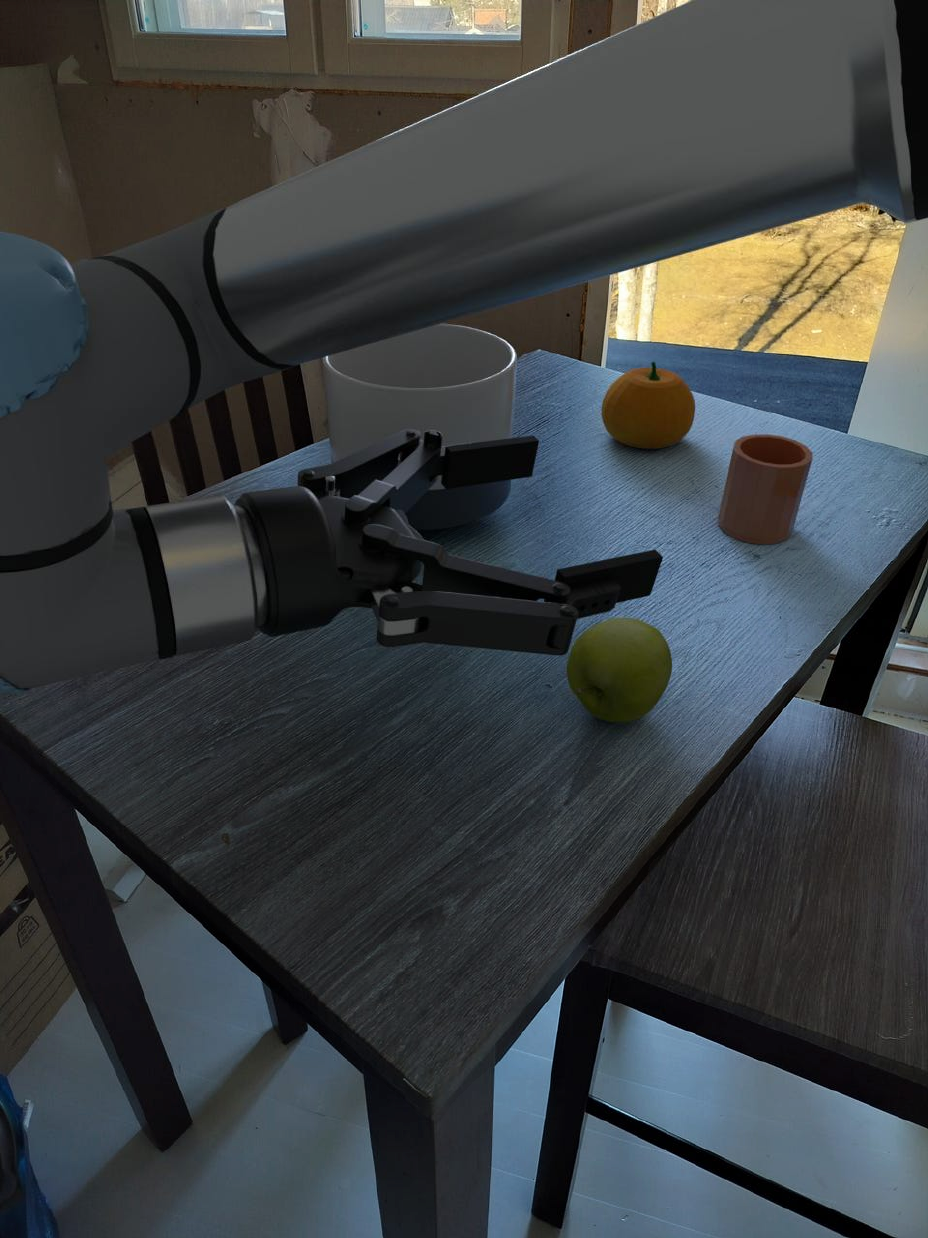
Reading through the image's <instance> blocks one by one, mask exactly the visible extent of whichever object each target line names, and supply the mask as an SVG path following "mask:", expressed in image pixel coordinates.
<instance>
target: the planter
mask: <svg viewBox="0 0 928 1238" xmlns="http://www.w3.org/2000/svg"><path fill="white" fill-rule="evenodd" d="M321 362H322V373H323V384H324V395H325V396H324V397H325V407H326V417H327V418H326V419H327V428H328V439H329V450H330V451H329V452H330V464H332V463H334V462H336V461H338V460H340V459H343V458H345V457H347V456H349V455H351V454H353V453H356V452H358V451H360V450H362V449H364V448H366V447H369V446H371V445H373V444H375V443H377V442H379V441H381V440H384V439H386V438H388V437H390V436H392V435H394V434H397V433H399V432H401V431H403V430H406V429H414V430H417V431H418V432H420V440H421V441H423V442H424V434H425V431H428V430H435V431H438V432H440V433H442V435H443V439H442V446H449V445H457V444H459V445H460V444H466V443H476V442H484V441H492V440H501V439H509V438H514V429H515V426H514V425H515V408H516V390H517V389H516V388H517V369H518V368H517V367H518V355H517V352H516V350H515V348H514V347H513V346H512V345H511V344H510V343H509V342H508V341H506V340H505V339H503V338H502V337H499V336H497V335H496V334H494V333H490V332H488V331H485V330H481V329H477V328H473V327H469V326H465V325H457V324H448V323H441V324H438V325H434V326H431V327H427V328H424V329H420V330H417V331H413V332H410V333H406V334H403V335H399V336H396V337H392V338H389V339H385V340H382V341H378V342H375V343H371V344H368V345H364V346H361V347H357V348H354V349H350V350H347V351H343V352H340V353H336V354H333V355H329V356H326V357H322V358H321ZM398 458H400V454H399V456H398ZM441 479H442V475H440V476H438V479H437V481H436V482H435V483H434V484H433V485H432V486H431V487H430V488H429V490H428V491H427V492H426V493H425V494H424V495H423V496H422V497H421V498H420V499H419V500H418V501H417V502H416V503H415V504H414V505H413V506H412V507H411V508H410V509H409V510H408V511H407V512H406V513H405V515H406V517H407V519H408V523H409V525H410V526H411V527H412V528H413V529H415V530H416V531H430V530H443V529H449V528H455V527H461V526H463V525H467V524H471V523H474V522H477V521H480V520H481V519H484V518H486V517H488V516H489V515H491V514H493V513H494V512H496V511H497V510H498V509H500V508H501V507H502V506H503V505H504V504H505V503H506V502H507V500H508V498H509V496H510V493H511V490H512V489H511V487H512V480H506V481H499V482H492V483H485V484H479V485H472V486H465V487H458V488H451V489H445V488H444V486H443V485H442V484H441Z"/></svg>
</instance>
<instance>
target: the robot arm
mask: <svg viewBox="0 0 928 1238" xmlns="http://www.w3.org/2000/svg"><path fill="white" fill-rule="evenodd" d="M860 204H866V205H870V206H872V207H873V206H874V207H876V208H877V209H879V210H881V211H882V212H884V213H886V214H887V215H889V216H892V217H893V218H895V219H896V220H898V221H900V222H902V223H903V224H905V225H906V224H910V223H915V222H918V221H922V220H925V219H928V0H689V1H688V2H684V3H683V4H681V5H677V6H676V7H674V8H672V9H669V10H666V11H665V12H662V13H660V14H658V15H656V16H653V17H651V18H649V19H646V20H644V21H643V22H640V23H637V24H635V25H633V26H631V27H628V28H627V29H624V30H622V31H620V32H618V33H615V34H613V35H611V36H609V37H606V38H604V39H602V40H600V41H597V42H595V43H593V44H591V45H588V46H586V47H583V48H581V49H578V50H577V51H574V52H572V53H570V54H568V55H566V56H564V57H561V58H558V59H556V60H554V61H553V62H550V63H548V64H545V65H543V66H541V67H538V68H536V69H534V70H532V71H530V72H528V73H527V72H526V73H525V74H523V75H521V76H518V77H516V78H514V79H511V80H509V81H507V82H505V83H503V84H500V85H498V86H496V87H494V88H491V89H489V90H487V91H484V92H482V93H479V94H478V95H476V96H473V97H471V98H468V99H467V100H464V101H462V102H460V103H458V104H456V105H453V106H451V107H449V108H446V109H444V110H442V111H440V112H437V113H435V114H433V115H430V116H428V117H426V118H424V119H421V120H419V121H417V122H414V123H413V124H411V125H408V126H406V127H404V128H401V129H399V130H397V131H394V132H392V133H389V134H388V135H385V136H384V137H381V138H379V139H376V140H373V141H372V142H369V143H367V144H365V145H363V146H361V147H359V148H356V149H354V150H352V151H349V152H346V153H345V154H342V155H340V156H338V157H336V158H334V159H331V160H329V161H327V162H325V163H322V164H320V165H318V166H315V167H313V168H311V169H309V170H306V171H304V172H302V173H300V174H298V175H295V176H293V177H291V178H288V179H286V180H284V181H282V182H280V183H277V184H275V185H273V186H271V187H268V188H266V189H264V190H262V191H259V192H257V193H255V194H253V195H250V196H248V197H246V198H243V199H241V200H239V201H237V202H235V203H233V204H231V205H229V206H226V207H223V208H221V209H217V210H215V211H212V212H210V213H207V214H205V215H203V216H201V217H198V218H196V219H194V220H191V221H190V222H187V223H186V224H183V225H180V226H179V227H176V228H174V229H172V230H169V231H166V232H164V233H161V234H159V235H156V236H154V237H151V238H148V239H145V240H142V241H139V242H137V243H134V244H132V245H129V246H125V247H123V248H120V249H117V250H114V251H112V252H109V253H107V254H104V255H100V256H95V257H91V258H88V259H84V260H81V261H77V262H75V263H71V264H70V262H69V261H68V259H66V258H65V257H64V256H63V255H62V254H61V253H60V252H59V251H57V249H55V248H53V247H52V246H50V245H47V244H46V243H43V242H41V241H38V240H36V239H33V238H29V237H26V236H24V235H20V234H16V233H12V232H5V231H0V695H1V694H7V693H8V694H9V693H14V694H22V693H24V692H29V691H31V690H32V689H34V688H35V689H36V688H39V687H43V686H47V685H51V684H55V683H59V682H63V681H68V680H73V679H76V678H80V677H84V676H89V675H93V674H97V673H102V672H106V671H110V670H115V669H120V668H125V667H128V666H129V667H130V666H133V665H138V664H142V663H147V662H151V661H158V660H165V659H170V658H174V656H175V657H176V656H181V655H186V654H191V653H195V652H201V651H205V650H210V649H211V650H212V649H216V648H220V647H226V646H229V645H235V644H241V643H244V642H250V641H252V640H253V637H254V636H255V634H256V632H257V629H258V631H259V632H261V633H262V634H264V635H267V637H270V638H274V637H275V638H276V637H279V636H285V635H289V634H294V633H298V632H303V631H309V630H313V629H318V628H322V627H325V626H328V625H329V624H331V622H332V621H333V620H334V619H335V618H336V617H337V616H338V615H339V614H341V612H343V611H344V610H345V609H348V608H365V609H372V612H373V615H374V617H375V619H376V621H377V627H376V628H377V629H376V642H377V643H378V645H380V646H382V647H385V648H395V647H403V646H410V645H416V644H417V645H418V644H433V645H445V646H452V647H453V646H454V647H465V648H475V649H487V650H497V651H506V652H518V653H527V654H537V655H538V654H539V655H547V656H548V655H549V656H557V657H558V656H559V657H560V656H565V655H567V654H568V653H569V650H570V646H571V644H572V643H571V642H572V639H573V636H574V632H575V628H576V625H577V621H578V620H580V619H584V618H588V617H591V616H594V615H595V616H596V615H600V614H604V613H609V612H611V611H612V610H614V609H615V607H616V605H617V604H619V603H623V602H628V601H632V600H637V599H642V598H644V597H645V598H646V597H649V596H650V597H651V594H652V591H653V590H654V589H653V588H654V586H655V583H656V579H657V577H658V574H659V570H660V568H661V565H662V561H663V560H664V556H663V555H662V554H661V553H660V552H659V551H657V549H650V550H646V551H641V552H636V553H631V554H626V555H621V556H616V557H610V558H607V559H602V560H601V559H600V560H596V561H592V562H591V561H590V562H586V563H582V564H576V565H572V566H567V567H566V566H565V567H562V568H558V569H556V573H555V576H554V579H550V578H547V577H543V576H539V575H535V574H530V573H526V572H522V571H518V570H514V569H510V568H506V567H502V566H498V565H494V564H490V563H486V562H481V561H478V560H474V559H469V558H465V557H462V556H457V555H454V554H449V553H447V552H446V550H445V548H444V546H443V545H442V544H441V543H437V542H435V541H430V540H425V539H424V538H423V536H422V535H421V534H420V532H419V531H418V530H415V529H413V528H412V527H411V526H410V525H409V523H408V519H407V517H406V515H405V513H406V512H407V511H408V510H409V509H410V508H411V507H412V506H413V505H414V504H415V503H416V502H417V501H418V500H419V499H420V498H421V497H422V496H423V495H424V494H425V493H426V492H427V491H428V490H429V488H430V487H431V486H432V485H433V484H434V483H435V482H436V481H437V479H438V476H440V475H442V479H441V484H442V485H443V486H444V488H445V489H451V488H458V487H465V486H472V485H479V484H485V483H492V482H499V481H506V480H511V481H512V480H519V479H526V478H532V477H533V473H534V468H535V464H536V459H537V455H538V454H537V453H538V449H539V444H540V440H539V439H538V438H537V437H536V436H535V435H526V436H519V437H518V436H517V437H513V438H509V439H501V440H492V441H484V442H476V443H466V444H460V445H459V444H457V445H449V446H442V439H443V435H442V433H440V432H438V431H435V430H428V431H425V434H424V442H423V441H421V440H420V432H418V431H417V430H414V429H406V430H403V431H401V432H399V433H397V434H394V435H392V436H390V437H388V438H386V439H384V440H381V441H379V442H377V443H375V444H373V445H371V446H369V447H366V448H364V449H362V450H360V451H358V452H356V453H353V454H351V455H349V456H347V457H345V458H343V459H340V460H338V461H336V462H334V463H329V464H324V465H319V466H315V467H308V468H304V469H301V470H299V471H298V472H297V485H294V486H286V487H278V488H271V489H263V490H257V491H256V490H255V491H248V492H243V493H242V494H241V495H240V497H238V498H237V499H236V500H235V503H234V505H233V504H232V502H231V501H230V500H229V499H228V498H227V497H225V495H221V494H220V495H211V496H205V497H199V498H191V499H185V500H178V501H172V502H165V503H159V504H158V503H157V504H151V505H145V506H138V507H132V508H120V509H113V502H112V494H111V488H110V487H111V486H110V480H109V471H108V464H107V463H108V462H107V461H108V458H109V456H110V455H112V454H113V453H115V452H117V451H119V450H120V449H122V448H124V447H126V446H128V445H129V444H131V443H133V442H134V441H137V440H138V439H140V438H141V437H143V436H145V435H147V434H149V433H150V432H152V431H153V430H155V429H157V428H159V427H160V426H162V425H165V424H166V423H168V422H170V421H171V420H173V419H176V418H177V417H179V416H180V415H182V414H184V413H185V412H186V411H187V410H189V409H191V408H193V407H194V406H197V405H199V404H200V403H202V402H204V401H206V400H208V399H210V398H212V397H214V396H215V395H217V394H219V393H222V392H223V391H226V390H228V389H230V388H232V387H235V386H237V385H240V384H243V383H246V382H249V381H253V380H256V379H260V378H263V377H266V376H270V375H274V374H277V373H280V372H283V371H287V370H289V369H291V368H295V367H296V366H297V367H298V366H300V365H302V364H304V363H308V362H311V361H315V360H320V359H322V357H326V356H329V355H333V354H336V353H340V352H343V351H347V350H350V349H354V348H357V347H361V346H364V345H368V344H371V343H375V342H378V341H382V340H385V339H389V338H392V337H396V336H399V335H403V334H406V333H410V332H413V331H417V330H420V329H424V328H427V327H431V326H434V325H438V324H446V323H448V322H452V321H455V320H459V319H462V318H465V317H468V316H472V315H476V314H480V313H482V312H486V311H490V310H494V309H497V308H501V307H504V306H508V305H511V304H515V303H519V302H521V301H524V300H525V301H526V300H528V299H529V300H530V299H531V298H536V297H539V296H543V295H546V294H549V293H553V292H556V291H560V290H563V289H567V288H569V287H574V286H577V285H578V286H579V285H581V284H585V283H587V282H588V283H589V282H591V281H594V280H598V279H602V278H605V277H609V276H612V275H615V274H619V273H623V272H626V271H629V270H633V269H636V268H641V267H644V266H647V265H652V264H654V263H658V262H662V261H664V260H665V261H666V260H668V259H673V258H675V257H679V256H682V255H686V254H689V253H693V252H696V251H700V250H703V249H707V248H710V247H714V246H717V245H720V244H725V243H727V242H731V241H735V240H738V239H742V238H745V237H749V236H752V235H756V234H759V233H763V232H766V231H770V230H773V229H777V228H780V227H783V226H788V225H790V224H794V223H798V222H801V221H805V220H807V219H808V220H809V219H813V218H815V217H819V216H822V215H826V214H829V213H832V212H836V211H839V210H843V209H846V208H850V207H854V206H858V205H860ZM399 454H400V458H398V456H399ZM422 566H423V573H422V574H423V575H422V582H421V584H420V583H415V582H413V581H414V580H415V579H416V578H417V577H418V576H419V575H420V573H421V571H422ZM539 600H543V601H539Z"/></svg>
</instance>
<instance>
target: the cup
mask: <svg viewBox="0 0 928 1238" xmlns="http://www.w3.org/2000/svg"><path fill="white" fill-rule="evenodd" d="M732 447H733V448H732V451H731V456H730V461H729V466H728V470H727V475H726V479H725V484H724V488H723V493H722V497H721V503H720V507H719V511H718V516H717V524H718V527H719V528H720V530H721V531H722V532H724V533H725V534H726V535H728V536H729V537H730V538H733V539H735V540H738V541H741V542H744V543H748V544H753V545H775V544H780V543H782V542H785V541H787V540H788V539H789V538H790V537H791V535H792V534H793V533H792V532H793V530H794V526H795V523H796V521H797V516H798V513H799V509H800V505H801V502H802V498H803V495H804V491H805V488H806V484H807V480H808V477H809V474H810V469H811V466H812V462H813V455H814V454H813V452H812V450H811V449H810V448H809V447H808V446H807V445H805V444H803V443H801V442H800V441H797V440H796V439H793V438H789V437H785V436H781V435H775V434H768V433H767V434H766V433H765V434H759V433H758V434H749V435H745V436H741V437H740V438H738V439H736V440H735V441H734V443H733V446H732Z"/></svg>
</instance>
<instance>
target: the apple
mask: <svg viewBox="0 0 928 1238" xmlns="http://www.w3.org/2000/svg"><path fill="white" fill-rule="evenodd" d="M672 658H673V657H672V652H671V649H670V646H669V644H668V641H667V640H666V639H665V636H664V635H663V634H662V632H661V631H660V630H659V629H658V628H657V627H655V626H653V625H651V624H649V623H647V622H645V621H643V620H640V619H638V618H633V617H615V618H609V619H607V620H603V621H601V622H599V623H596V624H594V625H593V626H591V627H589V628H587V629H586V630H585V631H583V632H582V633H581V634H580V635H579V636H578V637H577V639H576V640H575V642H574V643H573V645H572V646H571V649H570V651H569V654H568V657H567V663H566V677H567V682H568V685H569V687H570V689H571V691H572V693H573V694H574V695H575V696H576V698H577V700H578V701H579V702H580V704H581V705H582V706H583V707H584V709H585V710H586V711H587V712H588V713H590V714H591V715H592V716H594V717H595V718H596V719H599V720H602V721H604V722H608V723H609V722H610V723H616V724H625V723H631V722H634V721H637V720H639V719H641V718H643V717H644V716H646V715H647V714H648V713H650V712H651V711H652V710H653V709H654V707H656V705H657V704H658V702H660V700H661V698H662V697H663V695H664V693H665V691H666V689H667V687H668V685H669V682H670V679H671V676H672V671H673V659H672Z"/></svg>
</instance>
